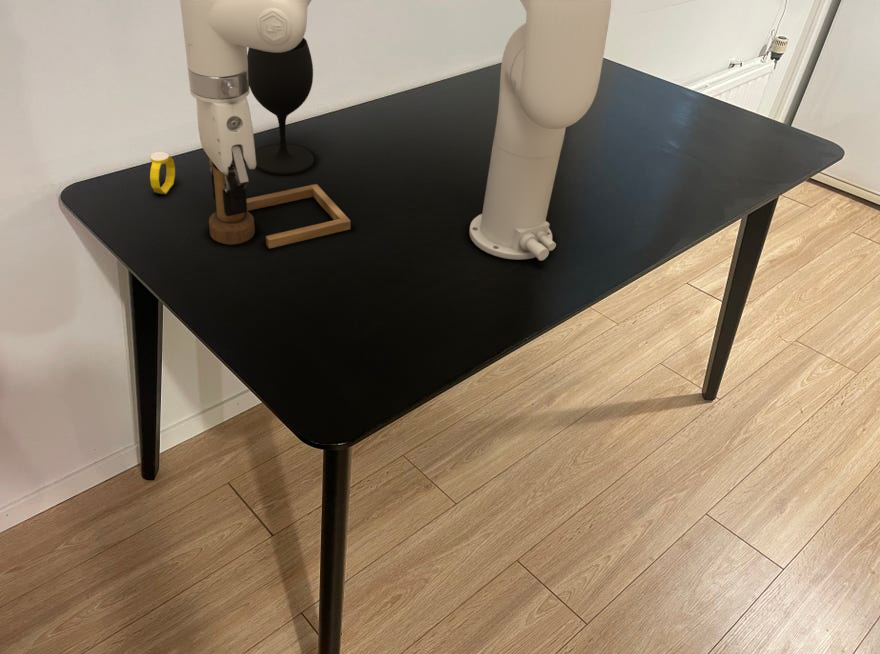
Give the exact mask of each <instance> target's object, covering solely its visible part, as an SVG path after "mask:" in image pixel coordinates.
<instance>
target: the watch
mask: <svg viewBox="0 0 880 654" xmlns="http://www.w3.org/2000/svg"><path fill="white" fill-rule="evenodd" d="M149 157H150V162H151V166H150V172H149V173H150V174H149V180H150V181H149V182H150V186H151V189H152V190H153V192H154V193H157V194H160V195H167V194H168V192H169V191H170V189H171V188H172V187H173V186H174V184H175V178H176V164H175V161H174V159H173V158H172V156H171V155H169V153H168V152H165V151H155V152H153V153H151V154H150V156H149ZM164 164H165V166H166V168H165V169H166V171H165V172H166V173H165V179H164V183H163V184H162V185H161V183H160V172H161V171H160V170H161V167H162V165H164Z"/></svg>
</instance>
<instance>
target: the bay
mask: <svg viewBox="0 0 880 654" xmlns="http://www.w3.org/2000/svg"><path fill="white" fill-rule="evenodd" d="M309 198H313V199H314V200H315V201H316V202H317V203H318V204H319V205H320V206H321V208H322V209H324V211H325V212H326V213H327V214H328V215H329V216H330V218H331V219H332V220H330V221H329V220H328V221H325V222H321V223H317V224H312V225H308V226H304V227H299V228H295V229H291V230H286V231H282V232H277V233H273V234H269V235H266V236H265V245H266V246H267V248H268V249H275V248H278V247H282V246H287V245H291V244H295V243H299V242H304V241H309V240H312V239H316V238H320V237H323V236H329V235H332V234H335V233H336V234H337V233H342V232H345V231H348V230H351V227H352V226H351V225H352V224H351V223H352V222H351V219H350V218H349V217H348V216H347V215H346V214H345V213H344V212H343V211H342V210H341V209H340V207H339V206H338V205H337V204H336V203H335V202H334V201H333V200H332V199H331V198H330V196H328V195H327V193H326V192H325V191H324V190H323V189H322V188H321V187H320V186H319V184H317V183H315V184H310V185H305V186H301V187H295V188H290V189H286V190H281V191H277V192H272V193H267V194H262V195H258V196H254V197H253V196H252V197H248V198H246V200H247V211H248V212H249V211H254V210H259V209H263V208H267V207H272V206H279V205H282V204H286V203H291V202H296V201H300V200H305V199H309Z"/></svg>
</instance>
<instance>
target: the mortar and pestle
mask: <svg viewBox="0 0 880 654" xmlns="http://www.w3.org/2000/svg"><path fill="white" fill-rule="evenodd" d="M230 167H233V165H231V166H230ZM230 167H228V168H230ZM212 174H214V184H215V195H216V200H215V207H216V211H215V212H213V213H212V214H211V215H210V216H209V218H208V228H209V236H210V237H211V239H212V240H214V241H215V242H217V243H219V244H223V245H230V246H232V245H234V246H235V245H240V244H244V243H246V242H248V241H250V240H251V239H252V238H253V237H254V235H255V233H256V228H255V218H254V216H253V214H252V213H251V212H249V211H246V212H245V213H241V214H236V215H231V216H226V214H225V213H224V203H223V192H222V190H224V189H225V187H224V181H223V174H222V172H221V171H220V170H219V169H218V168H217V167H216V165H215V164H214V163H213V173H212ZM235 177H236V175H235V174H230V175H229V180H231V179H232V178H235Z"/></svg>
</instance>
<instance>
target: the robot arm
mask: <svg viewBox="0 0 880 654" xmlns="http://www.w3.org/2000/svg"><path fill="white" fill-rule="evenodd" d="M519 1H520V3H521V4H522V6H523V9H524V10H525V13H526V19H525V23H523V24H521V25H520V26H519V27H518V28H517V29H516V30H515V31H514V32H513V33H512V35H511V36H510V37H509V39H508V41H507V42H506V45H505V47H504V50H503V54H502V59H501V64H500V65H501V66H500V77H499V80H500V81H499V93H498V94H499V96H498V107H497V115H496V122H495V129H494V136H493V141H492V147H491V154H490V161H489V166H488V167H489V168H488V173H487V180H486V187H485V193H484V199H483V205H482V213H480V214H479V215H477V216H476V217H474V218H473V219H472V221H471V222H470V224H469V232H468V234H469V238H470V241H472V242H473V244H474V245H475V246H476V247H477V248H479V249H480V250H482V251H483V252H484V253H487V254H489V255H492V256H493V257H498V258H501V259H506V260H517V261H519V260H530V259H535V258H536V259H537V260H538V261H544V260H546V259H547V258H548V256H549V254H550V252H551V251H553V250H554V249H555V248H556V246H557V243H556V242H555V241H554V240H553V232H552V230H551V229H550V222H548V221H547V216H548V211H549V206H550V203H551V197H552V193H553V188H554V184H555V179H556V174H557V171H558V165H559V160H560V157H561V151H562V149H563V144H564V141H565V140H564V139H565V134H566V129H567V128H568V127H570V126H572V125H574V124H575V123H577V122H578V121H579V120H581V119H582V118H583V117H584V116H585V115H586V114H587V113H588V111H589V109H591V106H592V105H593V102H594V100H595V98H596V96H597V93H598V89H599V85H600V79H601V73H602V67H603V62H604V56H605V55H604V54H605V48H606V44H607V43H606V42H607V36H608V31H609V30H608V29H609V25H610V24H609V22H610V16H611V9H612V0H519ZM311 2H312V0H179V4H180V11H181V20H182V30H183V37H184V45H185V47H184V48H185V55H186V57H185V58H186V65H187V73H188V83H189V90H190V95H191V96H192V97H193V98H194V99H196V100H195V101H196V113H197V114H196V115H197V116H196V117H197V127H198V135H199V141H200V145H201V147H202V150H203V151H204V152H205V154H206V155H207V156H208V160H209V163H208V164H209V171H210V173H211V174H210V180H211V181H210V182H211V189H212V190H211V191H212V198H213V200H214V201H216V195H215V184H214V174H213V163H214V164H215V165H216V167H217V168H218V169H219V170H220V171H221V172H222V174H223V181H224V187H225V189H224V190H222V192H223V203H224V213H225V214H226V216H231V215H236V214H241V213H245V212H246V211H247V200H246V199H247V190H246V189H247V185H249V182H250V181H249V176H248V173H247V169H246V167H247V168H248V170H252V171H254V170H255V169H256V168H257V167H256V155H255V153H256V147H255V137H254V130H253V129H254V127H253V122H252V116H251V110H250V105H249V101H248V98H247V97H248V96H249V95H250V87H249V76H248V59H247V55H248V49H249V48H253V49H257V50H262V51H266V52H274V53H281V52H286V51H289V50H292V49H293V48H295V47H296V46H297V45H298V44H299V43H300V42H301V41H302V39H303V38H305V34H306V32H307V25H308V24H307V23H308V7H309V5H310V4H311ZM231 165H233V167H230V166H231ZM228 167H230V168H228ZM230 174H235V175H236V177H235V178H232V179H231V180H229V175H230Z"/></svg>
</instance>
